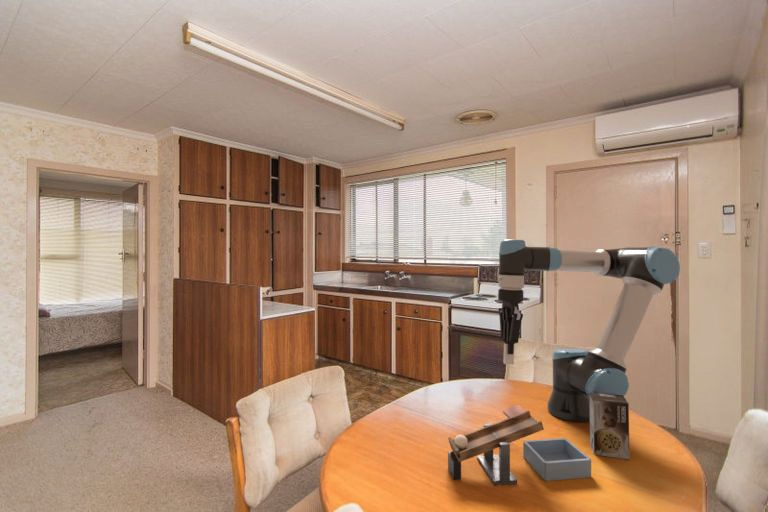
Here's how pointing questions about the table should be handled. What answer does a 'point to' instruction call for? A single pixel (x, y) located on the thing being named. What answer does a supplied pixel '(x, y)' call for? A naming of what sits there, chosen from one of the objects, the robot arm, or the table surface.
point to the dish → (556, 459)
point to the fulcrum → (488, 465)
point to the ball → (461, 441)
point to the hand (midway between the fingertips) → (508, 363)
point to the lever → (498, 433)
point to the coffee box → (609, 425)
